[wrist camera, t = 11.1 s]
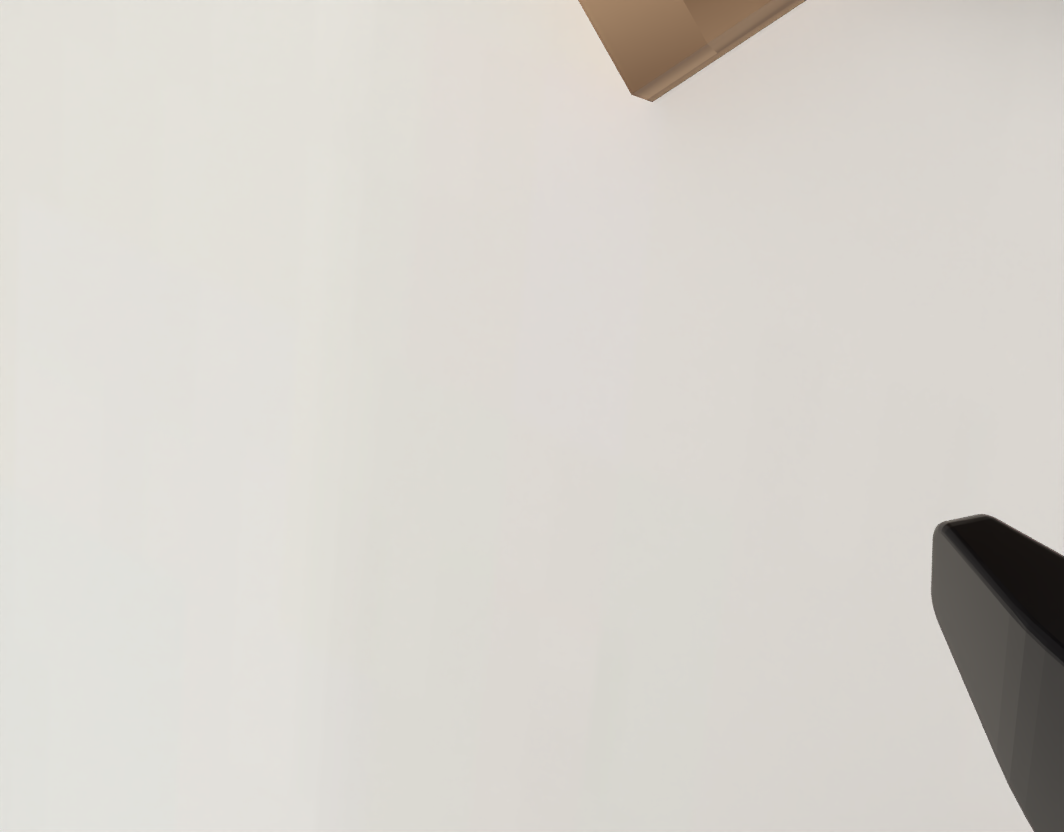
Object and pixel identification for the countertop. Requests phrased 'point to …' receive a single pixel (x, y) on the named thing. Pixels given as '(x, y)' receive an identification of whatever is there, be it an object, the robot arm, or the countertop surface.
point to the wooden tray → (675, 35)
